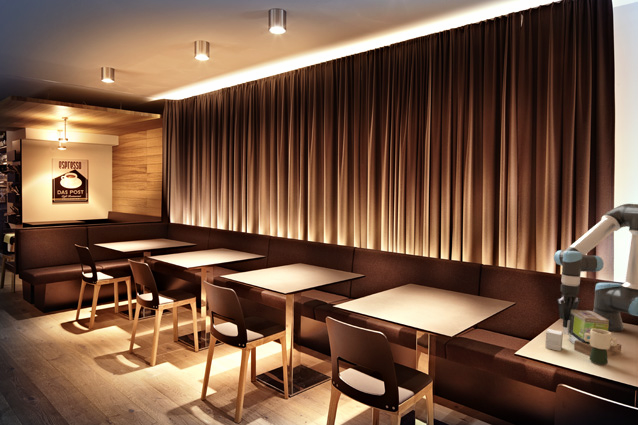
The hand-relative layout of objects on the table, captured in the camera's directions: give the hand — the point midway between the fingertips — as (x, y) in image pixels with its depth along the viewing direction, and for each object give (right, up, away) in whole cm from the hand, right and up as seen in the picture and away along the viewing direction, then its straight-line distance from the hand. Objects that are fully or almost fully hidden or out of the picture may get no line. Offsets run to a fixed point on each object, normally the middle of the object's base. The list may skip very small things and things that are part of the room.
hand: (566, 333), depth 206 cm
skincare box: (-13, -3, -13) cm, 18 cm away
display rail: (+5, -3, -16) cm, 17 cm away
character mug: (-3, -4, -28) cm, 29 cm away
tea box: (+4, -3, -9) cm, 11 cm away
